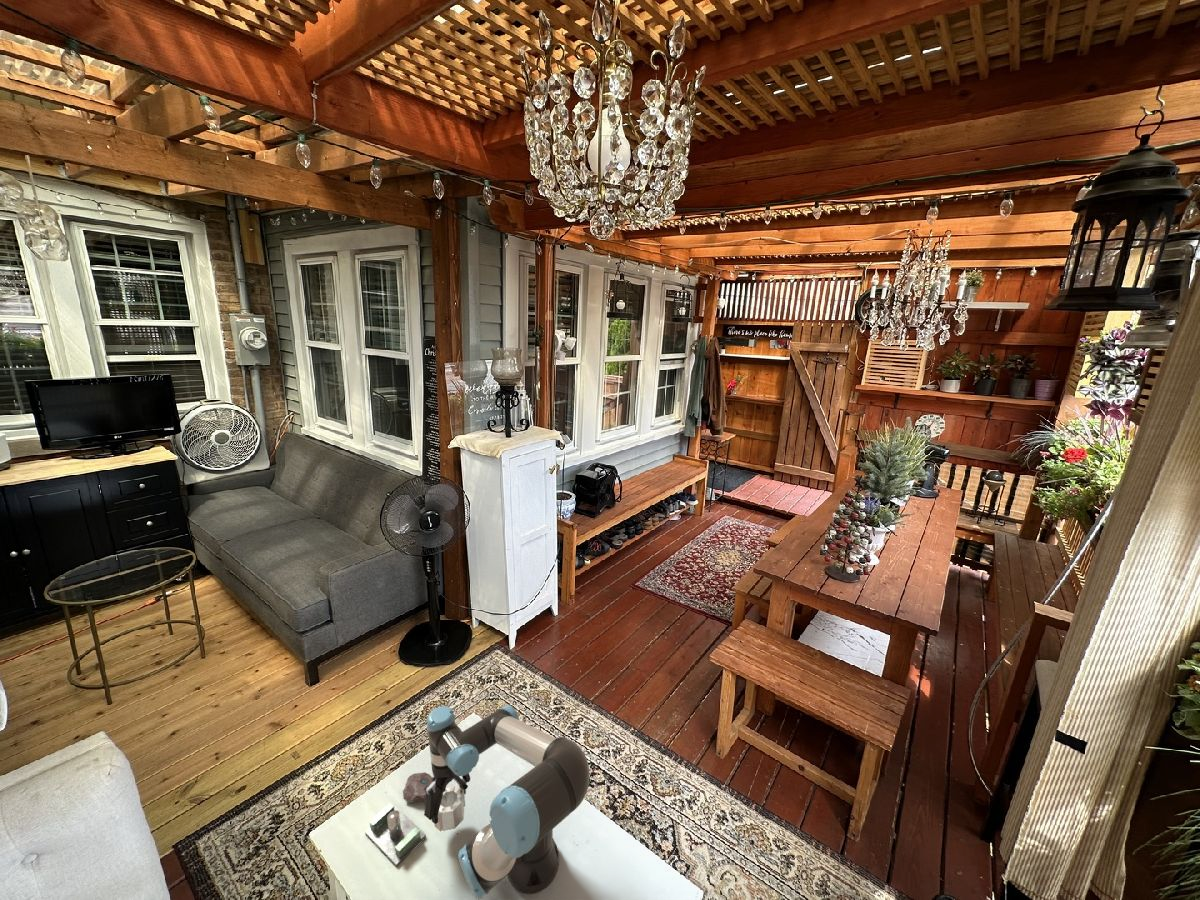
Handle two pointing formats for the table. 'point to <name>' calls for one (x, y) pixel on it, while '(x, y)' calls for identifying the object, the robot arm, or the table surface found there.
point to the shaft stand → (394, 834)
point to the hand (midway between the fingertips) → (450, 815)
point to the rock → (417, 787)
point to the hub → (452, 808)
